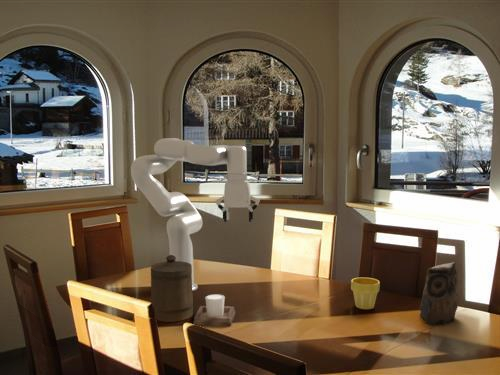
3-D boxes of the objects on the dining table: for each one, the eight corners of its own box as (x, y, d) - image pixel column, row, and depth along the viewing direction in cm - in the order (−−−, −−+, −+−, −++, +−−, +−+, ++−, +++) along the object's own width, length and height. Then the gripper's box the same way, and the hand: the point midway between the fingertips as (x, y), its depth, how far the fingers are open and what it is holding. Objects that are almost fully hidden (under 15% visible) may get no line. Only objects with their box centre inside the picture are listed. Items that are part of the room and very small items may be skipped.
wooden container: (199, 310, 206) (198, 252, 203) (182, 324, 192) (180, 261, 189) (163, 306, 210) (161, 249, 208) (144, 320, 197) (141, 259, 194)
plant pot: (382, 304, 209) (382, 278, 208) (376, 312, 200) (376, 286, 199) (354, 300, 214) (355, 275, 213) (347, 309, 204) (347, 283, 203)
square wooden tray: (193, 325, 190) (193, 318, 190) (199, 312, 203) (199, 305, 203) (231, 325, 189) (230, 318, 189) (235, 312, 202) (235, 306, 202)
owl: (457, 316, 195) (459, 260, 193) (459, 329, 183) (461, 269, 181) (419, 313, 199) (421, 258, 197) (419, 325, 187) (420, 267, 185)
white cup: (222, 320, 192) (221, 300, 191) (203, 318, 194) (202, 299, 193) (227, 313, 199) (226, 294, 198) (208, 312, 200) (208, 293, 199)
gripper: (213, 178, 213) (214, 223, 215) (258, 178, 211) (259, 223, 213) (216, 177, 220) (217, 219, 222) (260, 176, 218) (260, 219, 220)
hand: (238, 221), depth 217 cm, fingers open, 9 cm apart
